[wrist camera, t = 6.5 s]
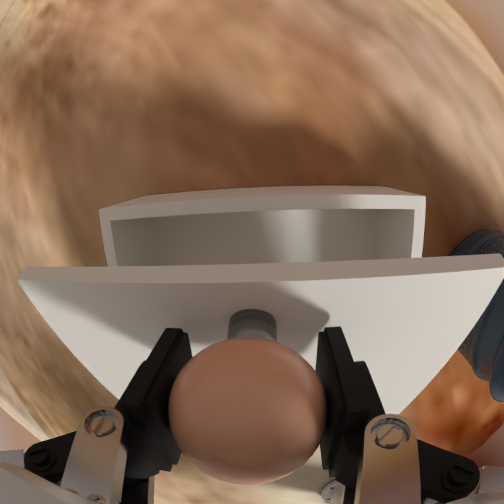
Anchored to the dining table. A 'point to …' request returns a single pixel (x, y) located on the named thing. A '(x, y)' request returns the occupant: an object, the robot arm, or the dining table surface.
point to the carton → (264, 226)
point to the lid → (265, 341)
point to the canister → (486, 319)
